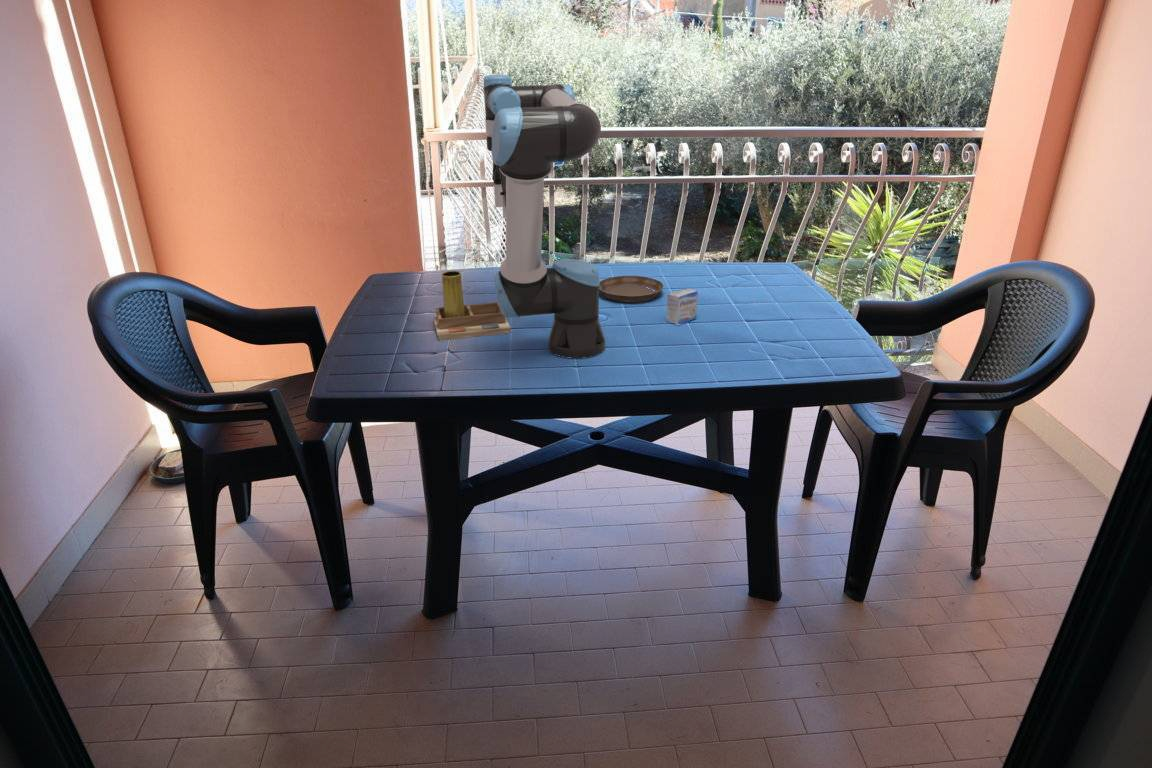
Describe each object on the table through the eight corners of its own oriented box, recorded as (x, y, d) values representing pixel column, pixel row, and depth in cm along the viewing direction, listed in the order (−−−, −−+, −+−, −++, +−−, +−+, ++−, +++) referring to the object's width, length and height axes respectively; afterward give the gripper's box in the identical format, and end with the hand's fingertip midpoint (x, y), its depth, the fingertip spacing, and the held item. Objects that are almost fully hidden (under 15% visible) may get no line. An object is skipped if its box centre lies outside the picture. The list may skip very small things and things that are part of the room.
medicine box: (677, 326, 222) (678, 297, 218) (666, 321, 225) (667, 293, 221) (696, 319, 226) (698, 291, 223) (685, 315, 229) (686, 287, 226)
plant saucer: (597, 284, 257) (598, 274, 255) (661, 284, 256) (661, 274, 254) (596, 305, 238) (596, 295, 237) (665, 306, 237) (665, 295, 236)
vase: (467, 317, 225) (463, 270, 219) (465, 325, 219) (461, 276, 213) (445, 318, 225) (441, 270, 218) (443, 326, 219) (438, 277, 213)
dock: (511, 332, 218) (510, 317, 216) (438, 340, 214) (437, 324, 212) (502, 315, 230) (501, 301, 228) (434, 322, 226) (432, 307, 224)
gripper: (522, 141, 205) (525, 221, 215) (505, 128, 227) (509, 201, 236) (493, 142, 204) (498, 223, 213) (479, 129, 226) (484, 203, 235)
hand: (503, 212), depth 225 cm, fingers open, 13 cm apart
